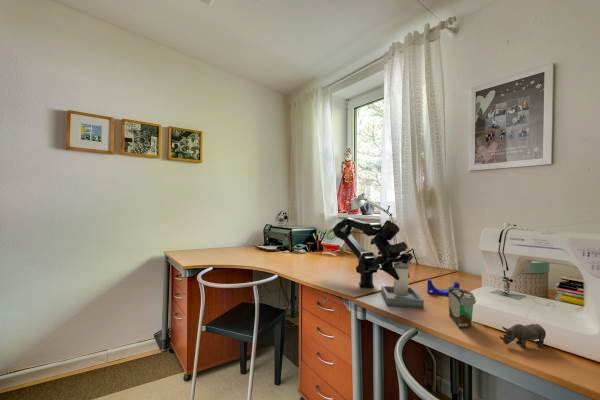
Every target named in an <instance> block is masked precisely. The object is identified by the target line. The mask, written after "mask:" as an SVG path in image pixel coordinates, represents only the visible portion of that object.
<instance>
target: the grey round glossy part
mask: <svg viewBox="0 0 600 400" xmlns="http://www.w3.org/2000/svg"><path fill="white" fill-rule="evenodd" d="M393 267H394V269H395V271H396V273H397V274H398V277H399V280H396V279H395V278H394V277H393V286H394V294H395V295H397V296H408V287H409V278H408V272H409V268H410V265H409V263H407V264H405V263H396V262H395V263H393Z"/></svg>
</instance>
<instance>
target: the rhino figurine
mask: <svg viewBox="0 0 600 400" xmlns="http://www.w3.org/2000/svg"><path fill="white" fill-rule="evenodd" d="M501 328H502V330H504V331H505V334H503V337H502V336H501V335H499V338H500V340H502V342H503V343H504V344H505V345H509V344H511V343H512V342H514V341H515V340H516V339H517V341H515V343H516V344H518V345H519V347H520V348H521V349H524V350H526V349H527V345H526V344H527V341H535V342H534V343H535V344H537V345H536V347H537V348H538V349H544V348H545V346H544V343H545V341H544V340H545V339H546V334H547V333H546V332H547V331H546V330H545V329H544V328H543V326H542V325H541V324H539V323H530V324H526V325H523V324H521V323H517V324H514V325H512V326H511V327H509V328H506V327H504V326H503V325H502V326H501ZM538 339H539V341H537V340H538Z"/></svg>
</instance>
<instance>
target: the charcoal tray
mask: <svg viewBox="0 0 600 400" xmlns="http://www.w3.org/2000/svg"><path fill="white" fill-rule="evenodd" d="M380 291H381V295H382V298H383V299H384V301H385V304H386V305H387V307H395V308H408V307H410V308H411V309H425V307H424V306H425V304H424V301H425V300H424V299H423V298H422V297H421V295H419V293H418V292H417V291H416V289H415V288H414V287H413V286H408V296H397V295H395V294H394V285H393V286H392V285H381V289H380Z"/></svg>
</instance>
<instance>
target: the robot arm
mask: <svg viewBox="0 0 600 400" xmlns="http://www.w3.org/2000/svg"><path fill="white" fill-rule="evenodd" d="M353 228H354V229H356V230H358V231H359V230H360V231H362V233H363V234H364V235H366V236H367V237H372V238H371V239H370V245H372V246H373V245H375V246H376V248H377V250H378V252H377V255H378V256H376V255H375V254H374V252H372V251H366V250H365V248H363V247H362V245H361V244H360V243H359V242H358V241H357V240H356V239H355V237H354V236H353V235H352V230H353ZM332 232H333V234H334V236H335V237H336V238H338V239H340V240H342V241H343V242H344V243H345V244H346V246H347V247H349V249H350V251H351V252H352V253H353V254H354V255H355V257H356V258H357V261H358V265H357V266H355V270H356V271H355V272H356V273H358V274H359V275H360V281H359V282H358V284H359V287H360V288H370V289H371V288H373V289H374V288H375V285H374V273H378V269H380V271H383V272H384V273H386V274H387V275H389V276H390V277H393V279H394V278H395V279H396V280H399V277H398V274H397V273H396V271H395V269H394V263H405V264H409V263H410V261H412V260H413V259H414V256H413V254H412V253H409V252H407V253H402V252H406V251H407V249H408V245H407V243H406V242H405V241H401V242H398V243H395V244H391V243H390V241H392V240H393V239H394V237H396V235H397V234H399V232H400V227H399V226H398V225H397V224H396V223H394V222H392V221H391V220H389V219H388V220H386V221H385V222H384V224H383V225H382V224H381V223H378V222H366V221H362V220H360V219H356V218H354V217H345V218H343V220H341V221H339V222H338V223H336V225H334V227H333V229H332ZM373 237H374V238H373ZM401 253H402V254H401ZM398 256H399V257H398ZM409 278H410V273H409V271H408V279H409Z"/></svg>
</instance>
